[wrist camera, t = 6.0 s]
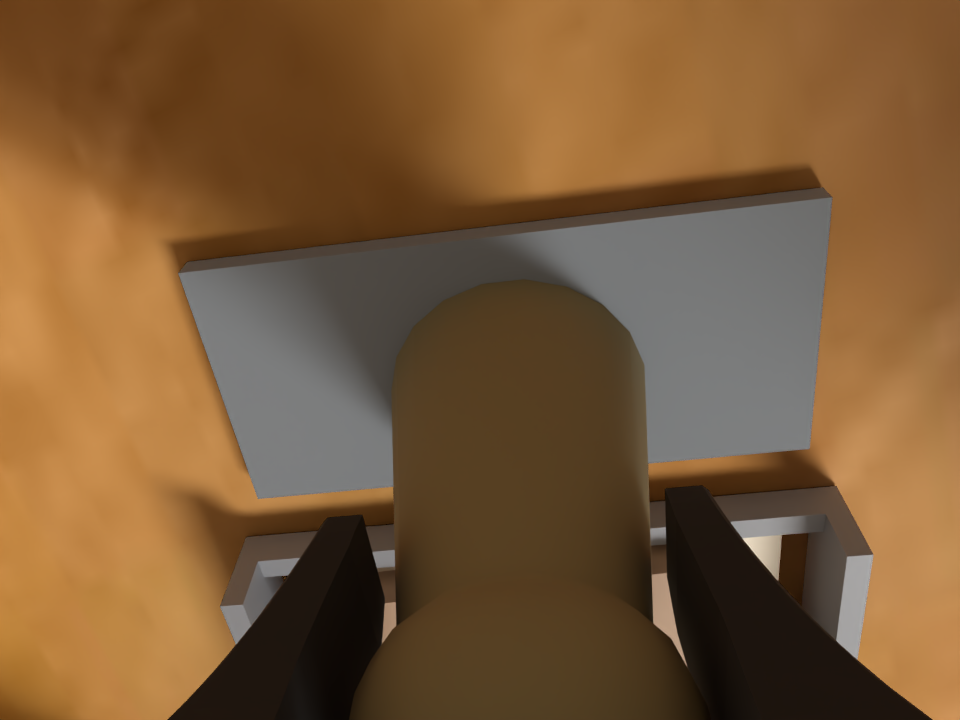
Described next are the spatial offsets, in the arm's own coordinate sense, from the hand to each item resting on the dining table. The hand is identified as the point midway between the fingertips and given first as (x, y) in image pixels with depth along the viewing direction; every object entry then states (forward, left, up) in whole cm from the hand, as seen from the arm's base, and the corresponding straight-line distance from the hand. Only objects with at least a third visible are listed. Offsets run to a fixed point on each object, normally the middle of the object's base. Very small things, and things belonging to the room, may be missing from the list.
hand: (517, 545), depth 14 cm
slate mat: (0, 0, -7) cm, 7 cm away
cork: (0, -1, -6) cm, 6 cm away
